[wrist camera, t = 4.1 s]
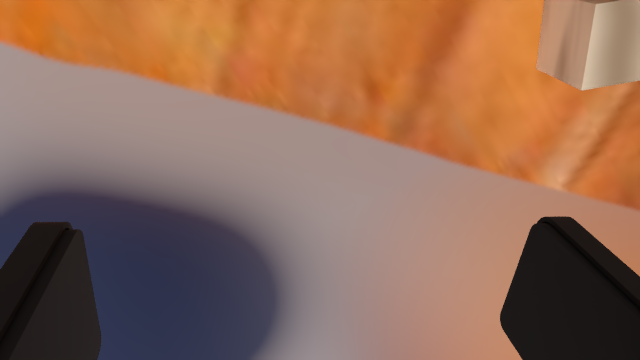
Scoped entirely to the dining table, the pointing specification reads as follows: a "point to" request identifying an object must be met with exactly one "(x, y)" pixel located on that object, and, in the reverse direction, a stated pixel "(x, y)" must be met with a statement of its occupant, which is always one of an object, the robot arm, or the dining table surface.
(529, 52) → the dining table surface
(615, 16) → the beech block
